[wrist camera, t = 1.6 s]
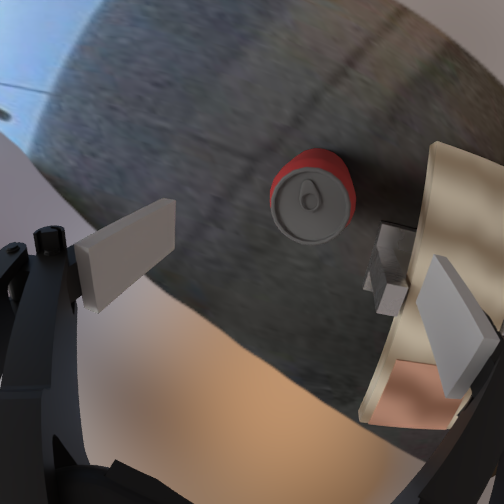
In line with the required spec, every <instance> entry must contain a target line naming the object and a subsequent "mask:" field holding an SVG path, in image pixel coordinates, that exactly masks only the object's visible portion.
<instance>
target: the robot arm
mask: <svg viewBox="0 0 504 504" xmlns="http://www.w3.org/2000/svg"><path fill="white" fill-rule="evenodd" d="M175 208H176V200H172V199H166V198H162V199H160V200H158V201H156V202H154V203H152V204H150V205H148V206H145V207H143V208H141V209H139V210H137V211H135V212H133V213H131V214H129V215H127V216H125V217H123V218H121V219H120V220H118V221H116V222H114V223H112V224H110V225H108V226H106V227H104V228H102V229H100V230H99V231H97V232H95V233H93V234H91V235H90V236H87V237H86V238H84V239H82V240H80V241H78V242H77V243H75V244H73V245H72V246H70V247H68V248H67V246H66V239H65V230H64V228H63V227H61V226H47V227H43V228H40V229H38V230H36V231H35V232H34V233H33V235H34V241H35V247H36V252H37V254H36V256H35V255H28V252H27V247H26V244H24V243H20V242H18V243H16V242H13V243H9V244H8V245H7V246H5V247H3V248H2V249H1V250H0V379H1V376H2V381H1V387H0V504H193V503H192V502H190V501H189V500H187V499H185V498H184V497H182V496H181V495H179V494H178V493H176V492H174V491H173V490H172V489H170V488H169V487H167V486H166V485H164V484H163V483H162V482H160V481H159V480H157V479H156V478H153V477H151V476H149V475H147V474H144V473H142V472H140V471H138V470H136V469H134V468H132V467H130V466H127V465H126V464H124V463H122V462H119V461H118V460H115V461H114V462H113V464H112V465H111V467H110V468H109V467H104V466H98V465H90V463H89V460H88V458H87V455H86V452H85V448H84V443H83V435H82V428H81V418H80V408H79V396H78V379H77V303H76V299H77V298H79V297H80V296H81V295H82V298H83V303H84V307H85V308H86V309H88V310H91V311H93V312H96V313H98V314H99V313H100V312H101V311H102V310H103V309H104V308H105V307H106V306H108V305H109V304H110V303H111V302H112V301H113V300H114V299H116V298H117V297H118V296H119V295H120V294H122V293H123V292H124V291H125V290H126V289H127V288H128V287H130V286H131V285H132V284H133V283H134V282H135V281H137V280H138V279H139V278H140V277H141V276H143V275H144V274H145V273H146V272H147V271H149V270H150V269H151V268H152V267H153V266H155V265H156V264H157V263H158V262H159V261H161V260H162V259H163V258H164V257H165V256H167V255H168V254H169V253H170V252H172V251H173V250H174V249H175ZM8 289H9V293H10V297H8ZM416 304H417V307H418V310H419V313H420V316H421V318H422V321H423V324H424V327H425V330H426V333H427V336H428V339H429V342H430V345H431V349H432V352H433V355H434V359H435V362H436V365H437V369H438V372H439V376H440V380H441V383H442V387H443V391H444V395H445V398H450V399H462V398H463V396H464V395H465V394H466V392H467V391H468V389H469V388H471V391H472V394H473V395H472V397H471V398H470V399H469V401H468V402H467V403H466V404H465V406H464V407H463V408H462V409H461V411H460V412H459V413H458V414H457V416H458V418H457V420H456V421H455V423H454V424H453V426H452V427H451V429H450V430H449V432H448V433H447V435H446V436H445V438H444V439H443V441H442V442H441V443H440V445H439V446H438V448H437V449H436V450H435V452H434V453H433V454H432V456H431V457H430V458H429V460H428V461H427V462H426V463H425V465H424V466H423V467H422V469H421V470H420V471H419V472H418V473H417V475H416V476H415V477H414V478H413V479H412V481H411V482H410V483H409V484H408V485H407V487H405V489H404V490H403V491H402V492H401V493H400V494H399V495H398V496H397V497H396V499H395V500H394V501H393V502H392V503H391V504H477V502H478V500H479V499H480V497H481V495H482V493H483V491H484V489H485V487H486V486H487V484H488V481H489V480H490V478H491V476H492V474H493V471H494V469H495V467H496V465H497V463H498V467H497V472H496V477H495V481H494V485H493V490H492V493H491V497H490V501H489V504H504V340H503V338H502V337H501V335H500V333H499V331H497V328H496V326H495V325H494V323H493V321H492V320H491V318H490V316H489V315H488V314H487V313H486V312H485V311H484V310H482V308H481V307H480V305H479V304H478V302H477V301H476V299H475V297H474V296H473V294H472V293H471V291H470V290H469V288H468V287H467V285H466V284H465V282H464V281H463V279H462V278H461V277H460V275H459V274H458V272H457V271H456V269H455V268H454V267H453V265H452V264H451V263H450V261H449V260H448V258H447V257H444V256H440V255H437V254H433V257H432V260H431V263H430V266H429V269H428V271H427V274H426V277H425V280H424V282H423V285H422V287H421V290H420V292H419V295H418V297H417V300H416ZM2 374H3V375H2ZM498 461H499V462H498Z"/></svg>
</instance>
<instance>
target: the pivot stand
mask: <svg viewBox="0 0 504 504" xmlns="http://www.w3.org/2000/svg"><path fill="white" fill-rule="evenodd" d="M416 232H417V229H413V228H409V227H405V226H401V225H397V224H393V223H389V222H385V221H380V225H379V229H378V233H377V236H376V240H375V244H374V247H373V251H372V254H371V258H370V261H369V264H368V268H367V271H366V274H365V278H364V281H363V284H362V286H363V290H368V291H372V292H373V295H374V301H375V307H376V313H380V314H385V315H390V316H395V317H397V315H398V313H399V310H400V308H401V306H402V303H403V301H404V298H405V295H406V293H407V290H408V286H407V283H406V280H405V279H406V275H407V271H408V267H409V263H410V259H411V255H412V250H413V246H414V241H415V237H416ZM499 331H500V333H501V334H502V335H504V319H503V322H502V325H501V328H500V330H499Z"/></svg>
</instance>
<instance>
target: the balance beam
mask: <svg viewBox="0 0 504 504" xmlns="http://www.w3.org/2000/svg"><path fill="white" fill-rule="evenodd" d="M433 254H437V255H440V256H444V257H447V258H448V260H449V261H450V263H451V264H452V265H453V267H454V268H455V269H456V271H457V272H458V274H459V275H460V277H461V278H462V279H463V281H464V282H465V284H466V285H467V287H468V288H469V290H470V291H471V293H472V294H473V296H474V297H475V299H476V301H477V302H478V304H479V305H480V307H481V308H482V310H484V311H485V312H486V313H487V314H488V315H489V316H490V318H491V320H492V321H493V323H494V325H495V326H496V328H497V331H499V330H500V328H501V325H502V322H503V319H504V166H501V165H499V164H497V163H494V162H492V161H490V160H487V159H485V158H482V157H480V156H477V155H475V154H472V153H469V152H467V151H464V150H461V149H458V148H456V147H453V146H450V145H447V144H444V143H441V142H438V141H437V142H435V143H433V144H431V145H430V149H429V158H428V166H427V174H426V181H425V188H424V194H423V200H422V206H421V212H420V217H419V222H418V227H417V232H416V237H415V241H414V246H413V250H412V255H411V259H410V263H409V267H408V271H407V275H406V279H405V280H406V283H407V286H408V290H407V293H406V295H405V298H404V301H403V303H402V306H401V308H400V310H399V313H398V315H397V317H395V316H394V319H393V323H392V326H391V329H390V332H389V335H388V338H387V340H386V343H385V346H384V349H383V352H382V354H381V357H380V360H379V362H378V365H377V368H376V370H375V373H374V375H373V378H372V380H371V383H370V385H369V388H368V390H367V392H366V395H365V397H364V399H363V402H362V404H361V406H360V408H359V411H358V412H359V420H360V422H365V423H368V424H372V425H381V426H391V427H403V428H417V429H442V430H446V429H451V427H452V426H453V424H454V423H455V421H456V420H457V418H458V416H457V414H458V413H459V412H460V411H461V409H462V408H463V407H464V406H465V404H466V403H467V402H468V400H469V398H470V396H471V394H472V391H471V388H469V389H468V391H467V392H466V394H465V395H464V396H463V398H462V399H450V398H445V395H444V391H443V387H442V383H441V380H440V376H439V372H438V369H437V365H436V362H435V359H434V355H433V352H432V349H431V345H430V342H429V339H428V336H427V333H426V330H425V327H424V324H423V321H422V318H421V316H420V313H419V310H418V307H417V304H416V300H417V297H418V295H419V292H420V290H421V287H422V285H423V282H424V280H425V277H426V274H427V271H428V269H429V266H430V263H431V260H432V257H433Z"/></svg>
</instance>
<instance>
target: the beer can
mask: <svg viewBox="0 0 504 504" xmlns="http://www.w3.org/2000/svg"><path fill="white" fill-rule="evenodd" d="M355 206H356V194H355V190H354V186H353V182H352V179H351V177H350V174H349V171H348V168H347V166H346V165H345V163H344V162H343V160H342V159H341V158H340V157H339V156H337V155H336V154H335V153H334V152H331V151H328V150H326V149H317V148H314V149H310V150H306V151H304V152H302V153H301V154H299V155H298V156H296V157H295V158H294V159H292V160H291V161H290V162H289V163H288V164H286V165H285V166H284V167H283V168H282V169H281V170H280V172H279V173H278V174H277V175H276V177H275V178H274V181H273V184H272V187H271V190H270V207H271V212H272V216H273V219H274V222H275V224H276V225H277V226H278V228H279V229H280V231H281V232H282V233H283V234H284V235H286V236H287V237H288V238H289V239H291V240H293V241H295V242H298V243H300V244H304V245H319V244H324V243H327V242H329V241H331V240H333V239H334V238H336V237H337V236H338V235H339V234H340V233H341V232H342V231H343V230H344V229H345V228H346V227H347V225H348V224H349V223H350V221H351V219H352V216H353V214H354V212H355Z"/></svg>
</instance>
